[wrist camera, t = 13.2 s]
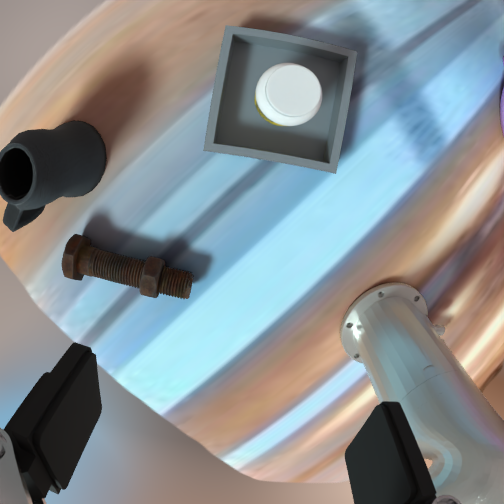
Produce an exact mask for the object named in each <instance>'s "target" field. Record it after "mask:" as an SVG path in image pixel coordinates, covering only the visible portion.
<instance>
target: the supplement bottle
mask: <svg viewBox="0 0 504 504" xmlns="http://www.w3.org/2000/svg"><path fill="white" fill-rule="evenodd" d="M254 101H255V106H256V109H257V111H258V113H259V114H260V116H261V117H262V118H263V119H264V120H266V121H267V122H269V123H271V124H273V125H277V126H296V125H300V124H303V123H305V122H307V121H309V120H310V119H311V118H313V117H314V116H315V114H316V113H317V112H318V110H319V108H320V105H321V102H322V88H321V85H320V83H319V80H318V79H317V77H316V76H315V74H314V73H313V72H311V71H310V70H309V69H307V68H305V67H303V66H301V65H298V64H294V63H281V64H277V65H275V66H272V67H271V68H269V69H268V70H267V71H265V72H264V73H263V75H262V76H261V78H260V79H259V81H258V83H257V86H256V91H255V98H254Z"/></svg>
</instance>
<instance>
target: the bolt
mask: <svg viewBox="0 0 504 504" xmlns="http://www.w3.org/2000/svg"><path fill="white" fill-rule="evenodd" d="M90 244H91V240H90V239H88V238H86V237H84V236H82V235H78V234H74V235H73V236H72V237H71V238H70V239H69V241H68V242H67V244H66V247H65V250H64V254H63V258H62V270H63V273H64V276H65V277H67V278H70V279H74V280H82V278H83V276H84V275H87V276H94V277H98V278H99V277H100V278H102V279H105V280H108V281H109V280H110V281H113V282H116V283H121V284H124V285H125V284H126V285H129V286H132V287H133V286H134V287H135V288H136V287H137V288H140V294H141V295H145V296H148V297H153V298H157V297H158V295H159V292H160V294H162V293H163V295H164V294H166V295H169V296H170V295H171V296H172V297H173V296H175V297H176V296H177V297H178V298H179V297H180V298H183V299H185V298H186V299H188V298H189V295H190V292H191V287H192V281H193V277H194V276H193V275H192V273H191V272H190V273H189V272H187V273H186V271H184V272H183V270H182V271H180V270H177V269H174V268H173V269H172V268H169V267H167V268H166V266H165V261H164V260H163V259H160V258H156V257H152V256H150V257H148V258H147V260H146V261H145V262H144V261H143V260H142V261H141V260H139V261H138V259H135V258H134V259H133V258H130V257H128V258H127V256H124V255H123V256H122V255H119V254H116V253H115V254H114V253H111V252H108V251H107V252H106V251H103V250H100V249H98V248H95V247H92V246H90Z"/></svg>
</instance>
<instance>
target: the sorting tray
mask: <svg viewBox="0 0 504 504" xmlns="http://www.w3.org/2000/svg"><path fill="white" fill-rule="evenodd" d="M356 57H357V51H353V50H350V49H346V48H343V47H339V46H336V45H332V44H328V43H324V42H320V41H316V40H311V39H307V38H303V37H298V36H293V35H288V34H283V33H277V32H271V31H265V30H258V29H251V28H244V27H235V26H226V27H225V32H224V37H223V41H222V46H221V51H220V56H219V62H218V67H217V72H216V78H215V83H214V89H213V95H212V100H211V106H210V112H209V118H208V125H207V131H206V137H205V144H204V151H209V152H217V153H224V154H231V155H238V156H244V157H250V158H257V159H263V160H269V161H274V162H280V163H285V164H291V165H296V166H301V167H306V168H311V169H316V170H321V171H326V172H331V173H335V174H336V171H337V166H338V161H339V156H340V151H341V146H342V140H343V135H344V130H345V124H346V119H347V113H348V107H349V102H350V96H351V90H352V83H353V77H354V71H355V64H356ZM281 63H294V64H298V65H301V66H303V67H305V68H307V69H309V70H310V71H311V72H313V73H314V74H315V76H316V77H317V79H318V80H319V83H320V85H321V88H322V102H321V105H320V108H319V110H318V112H317V113H316V114H315V116H314V117H313V118H311V119H310V120H309V121H307V122H305V123H303V124H300V125H296V126H277V125H273V124H271V123H269V122H267V121H266V120H264V119H263V118H262V117H261V116H260V114H259V113H258V111H257V109H256V106H255V101H254V98H255V91H256V86H257V83H258V81H259V79H260V78H261V76H262V75H263V73H264V72H265V71H267V70H268V69H269V68H271V67H272V66H275V65H277V64H281Z"/></svg>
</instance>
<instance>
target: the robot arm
mask: <svg viewBox="0 0 504 504" xmlns="http://www.w3.org/2000/svg"><path fill="white" fill-rule="evenodd" d="M427 316H428V311H427V305H426V302H425V300H424V298H423V296H422V295H421V294H420V293H419V292H418V291H417V290H416V289H415V288H413V287H412V286H410V285H408V284H405V283H398V282H393V283H386V284H382V285H379V286H376V287H374V288H372V289H370V290H368V291H367V292H365V293H364V294H362V295H361V296H360V297H359V298H358V299H356V300H355V302H354V303H353V304H352V305H351V306H350V307H349V309H348V311H347V312H346V314H345V316H344V318H343V321H342V324H341V329H340V338H341V342H342V345H343V347H344V350H345V352H346V353H347V354H348V355H349V357H351V358H352V359H353V360H355V361H357V362H360V363H363V364H364V367H365V369H366V371H367V374H368V376H369V378H370V381H371V383H372V386H373V388H374V390H375V393H376V395H377V398H378V400H379V403H380V405H377V406H376V407H375V408H374V410H373V412H372V413H371V415H370V416H369V418H368V419H367V421H366V422H365V424H364V425H363V427H362V428H361V429H360V431H359V432H358V434H357V435H356V437H355V438H354V439H353V441H352V442H351V444H350V445H349V446H348V448H347V449H346V452H345V460H346V465H347V470H348V475H349V479H350V484H351V489H352V494H353V499H354V504H504V420H503V419H502V418H501V417H500V415H499V414H498V413H497V412H496V411H495V410H494V408H493V407H492V406H491V405H490V403H489V402H488V401H487V399H486V398H485V397H484V395H483V394H482V393H481V391H480V390H479V389H478V387H477V386H476V384H475V383H474V382H473V380H472V379H471V377H470V376H469V375H468V374H467V372H466V371H465V369H464V368H463V367H462V365H461V364H460V363H459V361H458V360H457V359H456V357H455V356H454V355H453V353H452V352H451V351H450V349H449V348H448V347H447V345H446V344H445V342H444V340H443V339H441V338H440V336H439V335H443V334H444V332H445V327H444V326H443V325H433V324H432V322H431V321H430V320H429V319H428V318H427ZM101 410H102V404H101V397H100V389H99V382H98V372H97V361H96V355H95V354H94V353H92V350H91V348H90V347H87V346H84V345H81V344H78V343H73V344H72V345H71V346H70V347H69V349H68V350H67V351H66V353H65V354H64V355H63V356H62V358H61V359H60V360H59V362H58V363H57V364H56V366H55V367H54V368H53V370H52V371H51V372H50V373H49V372H47V373H44V374H43V376H41V378H40V379H39V380H38V382H37V383H36V384H35V386H34V387H33V389H32V390H31V391H30V393H29V394H28V395H27V397H26V398H25V399H24V401H23V402H22V404H21V405H20V407H19V408H18V409H17V411H16V412H15V414H14V415H13V416H12V418H11V419H10V421H9V422H8V424H7V425H6V427H5V429H4V430H3V429H1V428H0V504H46V502H45V499H44V498H45V497H46V495H47V493H48V491H49V490H50V491H52V492H54V493H56V494H59V492H60V490H61V489H66V488H67V486H68V484H69V482H70V479H71V477H72V475H73V472H74V470H75V468H76V466H77V463H78V461H79V459H80V457H81V455H82V452H83V451H84V448H85V446H86V444H87V442H88V440H89V438H90V436H91V433H92V431H93V429H94V427H95V425H96V423H97V421H98V419H99V417H100V414H101ZM424 459H429V460H432V461H433V464H432V465H431V467H430V468H429V469H428V468H427V466H426V463H425V461H424Z"/></svg>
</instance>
